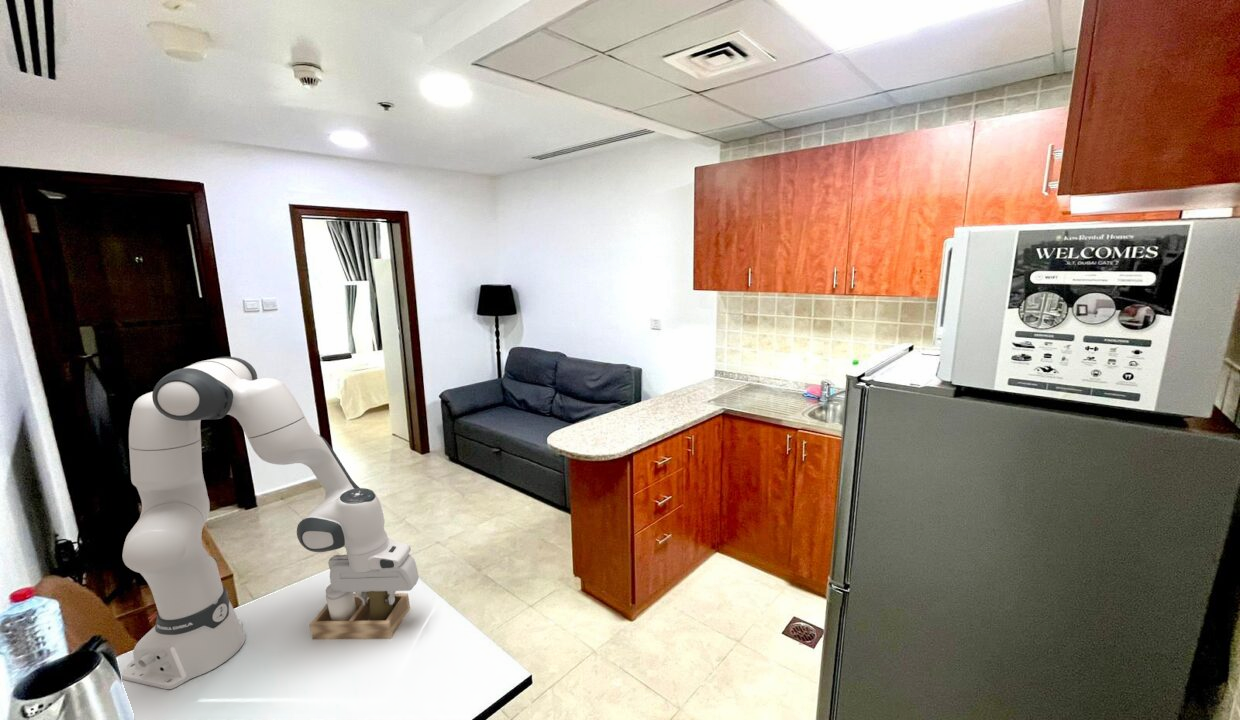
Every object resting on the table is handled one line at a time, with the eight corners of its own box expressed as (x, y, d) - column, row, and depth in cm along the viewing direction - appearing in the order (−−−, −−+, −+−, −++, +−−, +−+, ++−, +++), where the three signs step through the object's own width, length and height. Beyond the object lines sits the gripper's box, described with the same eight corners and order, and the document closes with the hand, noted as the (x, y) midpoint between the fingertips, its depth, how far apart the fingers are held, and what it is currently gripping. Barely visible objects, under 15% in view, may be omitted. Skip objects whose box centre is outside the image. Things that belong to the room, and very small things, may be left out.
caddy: (313, 642, 113) (309, 624, 112) (338, 610, 122) (335, 594, 121) (391, 641, 112) (387, 623, 111) (410, 610, 122) (407, 593, 121)
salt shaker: (327, 631, 115) (319, 594, 112) (341, 614, 120) (334, 578, 118) (350, 631, 114) (342, 594, 112) (362, 614, 120) (355, 578, 117)
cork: (386, 631, 114) (379, 592, 112) (363, 628, 115) (357, 589, 113) (401, 612, 120) (395, 575, 117) (380, 609, 121) (374, 572, 118)
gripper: (318, 564, 110) (330, 614, 113) (404, 561, 109) (413, 612, 112) (335, 547, 116) (346, 595, 119) (416, 544, 115) (425, 593, 118)
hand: (379, 603), depth 116 cm, fingers closed on cork, 4 cm apart
